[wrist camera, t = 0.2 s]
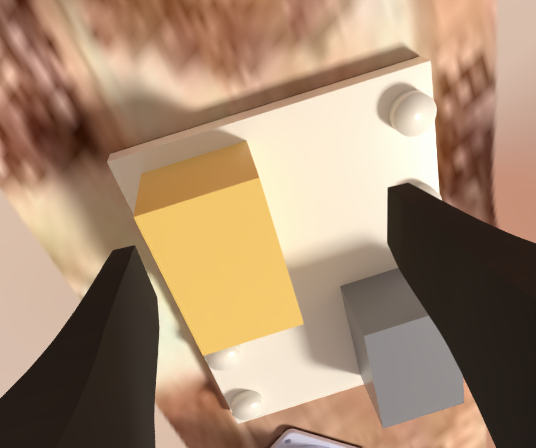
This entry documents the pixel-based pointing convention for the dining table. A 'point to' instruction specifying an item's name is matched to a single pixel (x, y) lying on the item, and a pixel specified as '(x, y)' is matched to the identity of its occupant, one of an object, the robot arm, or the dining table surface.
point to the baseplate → (314, 216)
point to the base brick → (399, 350)
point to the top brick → (218, 247)
